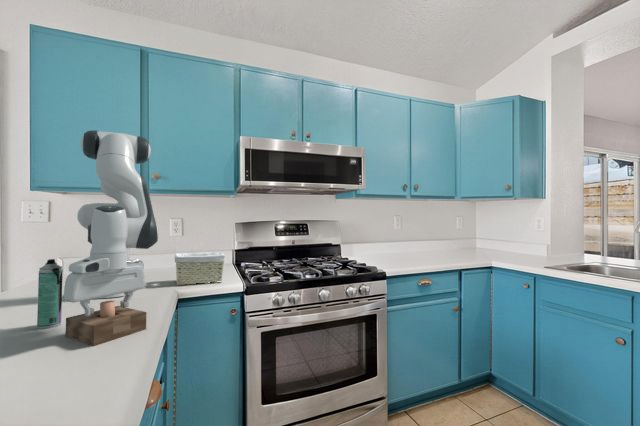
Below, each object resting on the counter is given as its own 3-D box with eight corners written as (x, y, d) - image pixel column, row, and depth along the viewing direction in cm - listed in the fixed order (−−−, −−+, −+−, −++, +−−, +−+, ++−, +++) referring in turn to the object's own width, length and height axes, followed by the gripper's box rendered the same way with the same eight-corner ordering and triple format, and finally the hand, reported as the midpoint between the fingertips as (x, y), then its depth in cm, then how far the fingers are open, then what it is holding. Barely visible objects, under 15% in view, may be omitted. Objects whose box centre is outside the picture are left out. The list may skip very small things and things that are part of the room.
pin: (97, 327, 89) (97, 303, 89) (111, 324, 92) (110, 300, 92) (104, 329, 87) (104, 304, 87) (117, 325, 90) (117, 301, 90)
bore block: (65, 336, 86) (66, 317, 86) (117, 321, 99) (118, 305, 99) (93, 345, 80) (94, 326, 80) (146, 329, 92) (146, 312, 92)
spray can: (65, 322, 97) (67, 258, 98) (51, 329, 92) (53, 260, 92) (47, 322, 97) (49, 258, 97) (31, 329, 91) (34, 260, 92)
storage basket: (221, 277, 175) (221, 251, 175) (225, 283, 160) (225, 254, 161) (174, 280, 165) (174, 252, 165) (174, 287, 150) (174, 256, 151)
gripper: (137, 258, 100) (136, 301, 100) (61, 266, 82) (59, 319, 82) (150, 259, 97) (149, 303, 97) (74, 267, 79) (72, 322, 79)
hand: (107, 311), depth 89 cm, fingers open, 8 cm apart
